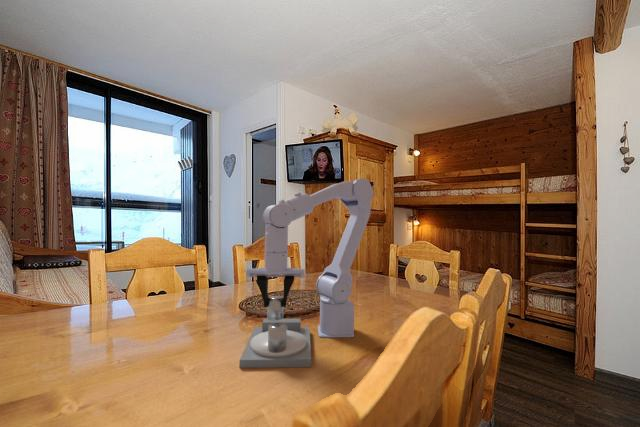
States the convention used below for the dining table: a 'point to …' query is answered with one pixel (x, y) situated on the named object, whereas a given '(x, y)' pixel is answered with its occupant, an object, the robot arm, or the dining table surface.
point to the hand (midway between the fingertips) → (275, 305)
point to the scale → (291, 357)
